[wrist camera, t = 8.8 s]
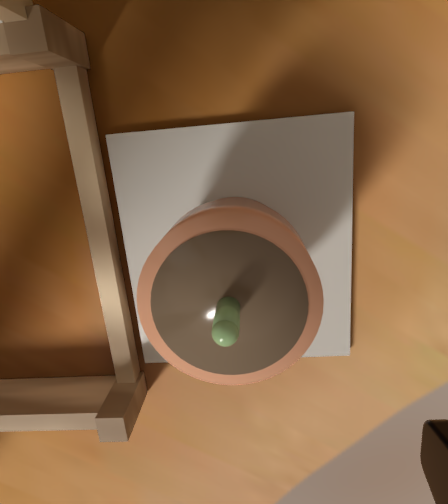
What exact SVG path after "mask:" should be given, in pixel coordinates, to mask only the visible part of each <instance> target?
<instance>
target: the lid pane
mask: <svg viewBox="0 0 448 504" xmlns="http://www.w3.org/2000/svg"><path fill="white" fill-rule="evenodd" d="M31 5H33V2H32V0H0V23H3V22H5V23H6V22H14V21H22V20H28V19H27V15H26V10H25V6H31ZM2 21H3V22H2Z"/></svg>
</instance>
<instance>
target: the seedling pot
mask: <svg viewBox="0 0 448 504" xmlns="http://www.w3.org/2000/svg"><path fill="white" fill-rule="evenodd" d="M323 305H324V299H323V289H322V284H321V280H320V277H319V274H318V272H317V269H316V267H315V265H314V263H313V261H312V259H311V257H310V255H309V253H308V251H307V249H306V247H305V245H304V243H303V241H302V239H301V238H300V236H299V234H298V233H297V231H296V230H295V229H294V227H293V226H292V225H291V224H290V223H289V222H288V221H287V220H286V219H285V218H284V217H283V216H282V215H280V214H279V213H278V212H276V211H274V210H273V209H271V208H269V207H267V206H266V205H264V204H262V203H261V202H258V201H256V200H253V199H249V198H245V197H226V198H221V199H218V200H215V201H211V202H208V203H205V204H202V205H200V206H198V207H196V208H194V209H192V210H191V211H189V212H187V213H186V214H185V215H184V216H182V217H181V218H180V219H179V220H178V221H177V222H176V223H175V224H174V225H173V226H172V228H171V229H170V230H169V231H168V232H167V233H166V235H165V236H164V237H163V238H162V239H161V241H160V242H159V243H158V244H157V245H156V246H155V248H154V249H153V250H152V252H151V253H150V255H149V256H148V258H147V260H146V262H145V264H144V265H143V268H142V271H141V273H140V276H139V281H138V286H137V309H138V314H139V318H140V322H141V325H142V327H143V330H144V332H145V334H146V336H147V338H148V339H149V341H150V343H151V344H152V345H153V347H154V348H155V349H156V351H157V352H158V353H159V354H160V355H161V356H162V357H163V358H164V359H165V360H166V361H168V362H169V363H170V364H171V365H172V366H174V367H175V368H177V369H178V370H180V371H181V372H183V373H185V374H187V375H189V376H191V377H194V378H197V379H199V380H202V381H206V382H210V383H214V384H221V385H244V384H251V383H256V382H260V381H263V380H266V379H269V378H271V377H273V376H275V375H278V374H280V373H281V372H283V371H284V370H286V369H288V368H289V367H290V366H292V365H293V364H294V363H295V362H297V361H298V360H299V359H300V358H301V357H302V356H303V355H304V353H305V352H306V351H307V349H308V348H309V347H310V345H311V344H312V342H313V340H314V338H315V337H316V335H317V332H318V330H319V327H320V324H321V320H322V315H323Z"/></svg>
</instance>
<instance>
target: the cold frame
mask: <svg viewBox="0 0 448 504" xmlns="http://www.w3.org/2000/svg"><path fill="white" fill-rule="evenodd" d="M25 10H26V15H27V19H28V20H22V21H14V22H6V23H5V22H3V21H2V22H3V23H0V74H6V73H15V72H24V71H33V70H41V69H52V70H54V74H55V79H56V84H57V89H58V94H59V98H60V103H61V108H62V113H63V118H64V123H65V128H66V133H67V138H68V143H69V148H70V153H71V158H72V163H73V167H74V172H75V177H76V182H77V187H78V192H79V197H80V202H81V207H82V212H83V217H84V222H85V227H86V232H87V236H88V241H89V246H90V251H91V256H92V261H93V266H94V271H95V276H96V281H97V286H98V291H99V296H100V300H101V305H102V310H103V315H104V320H105V325H106V330H107V335H108V340H109V345H110V350H111V355H112V360H113V365H114V369H115V374H116V375H112V376H84V377H56V378H27V379H0V432H4V431H49V430H94V429H97V431H98V435H99V439H100V442H125V441H128V440H129V438H130V435H131V432H132V430H133V427H134V425H135V422H136V420H137V417H138V415H139V412H140V410H141V407H142V405H143V402H144V400H145V397H146V395H147V387H146V381H145V375H144V371H140V366H139V361H138V355H137V350H136V344H135V339H134V333H133V327H132V322H131V316H130V311H129V305H128V299H127V294H126V288H125V283H124V277H123V271H122V266H121V260H120V255H119V249H118V244H117V238H116V232H115V227H114V221H113V216H112V210H111V204H110V199H109V193H108V188H107V182H106V176H105V171H104V165H103V160H102V154H101V149H100V143H99V137H98V132H97V126H96V121H95V115H94V109H93V104H92V98H91V93H90V87H89V82H88V76H87V69H91V68H90V62H89V56H88V51H87V45H86V39H85V34H84V33H83V32H82V31H80V30H78V29H77V28H75V27H74V26H72V25H70V24H69V23H67V22H66V21H64V20H63V19H61V18H59V17H58V16H56V15H55V14H53V13H51V12H50V11H48V10H47V9H45V8H44V7H42V6H40V5H31V6H25Z"/></svg>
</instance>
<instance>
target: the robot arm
mask: <svg viewBox="0 0 448 504" xmlns="http://www.w3.org/2000/svg"><path fill="white" fill-rule="evenodd" d="M420 456H421V464H422V468H423V471H424V474H425V476H426V479H427V482H428V484H429V487H430V490H431V492H432V495H433V497H434V500H435V503H436V504H448V420H445V419H443V420H427V421H425V423H424V425H423V432H422V443H421V455H420Z"/></svg>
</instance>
